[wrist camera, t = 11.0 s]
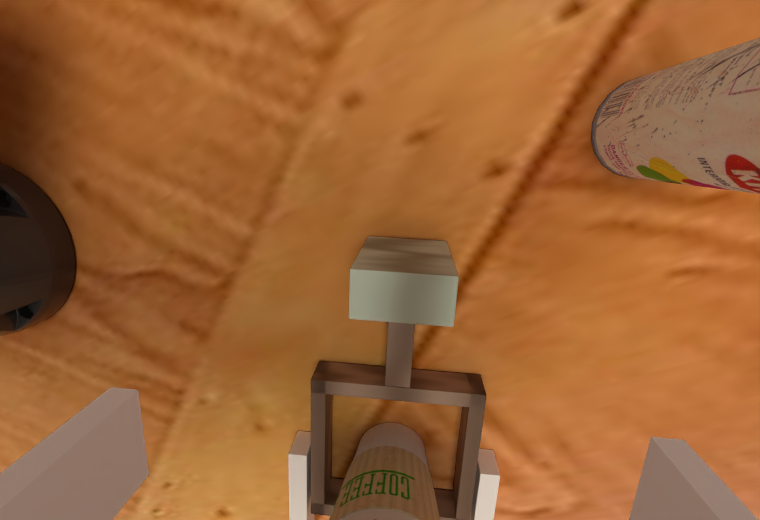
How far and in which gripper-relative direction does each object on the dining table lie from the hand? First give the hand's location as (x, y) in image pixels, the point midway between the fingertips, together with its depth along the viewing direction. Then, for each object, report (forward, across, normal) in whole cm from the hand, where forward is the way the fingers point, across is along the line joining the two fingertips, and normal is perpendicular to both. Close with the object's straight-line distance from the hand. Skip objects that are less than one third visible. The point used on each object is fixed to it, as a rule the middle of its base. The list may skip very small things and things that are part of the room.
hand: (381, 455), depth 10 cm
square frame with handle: (+23, 0, -12) cm, 25 cm away
